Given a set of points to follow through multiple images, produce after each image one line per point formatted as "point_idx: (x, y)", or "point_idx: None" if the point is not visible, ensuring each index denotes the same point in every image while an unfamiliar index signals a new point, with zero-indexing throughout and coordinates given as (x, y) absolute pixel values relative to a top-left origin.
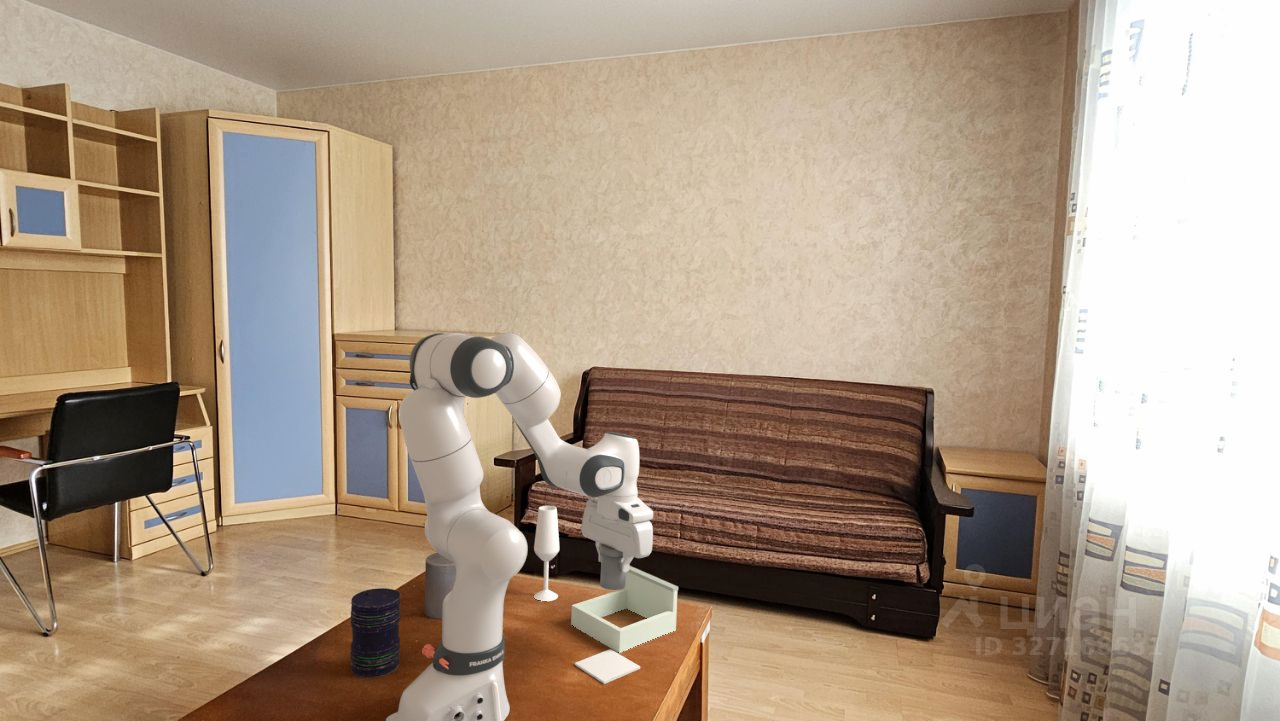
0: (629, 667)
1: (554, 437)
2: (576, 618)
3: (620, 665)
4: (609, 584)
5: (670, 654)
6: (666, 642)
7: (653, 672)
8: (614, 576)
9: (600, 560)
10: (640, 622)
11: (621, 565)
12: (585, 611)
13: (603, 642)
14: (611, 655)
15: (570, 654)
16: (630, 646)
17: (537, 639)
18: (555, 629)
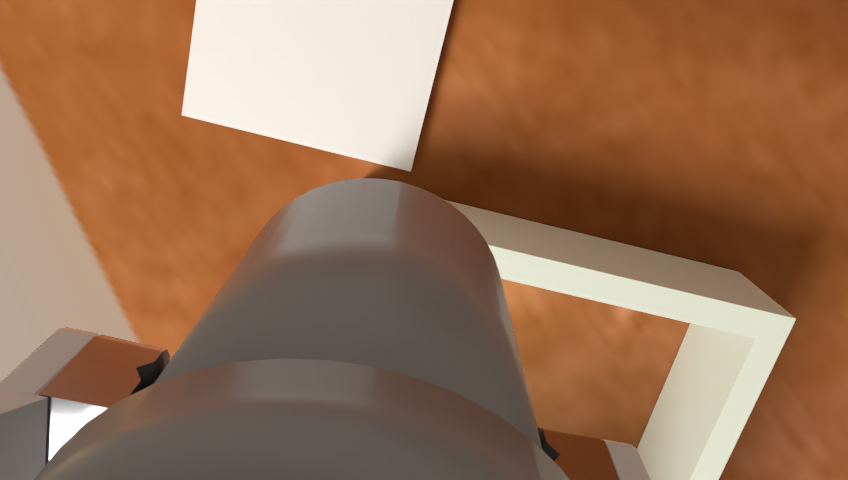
0: (214, 71)
1: None
2: (719, 281)
3: (263, 61)
4: (311, 202)
5: (169, 312)
6: None
7: (116, 124)
8: (241, 268)
9: (592, 443)
10: None
11: (64, 377)
12: (675, 300)
13: (485, 212)
14: (364, 118)
15: (561, 12)
16: None
17: (814, 36)
18: (787, 187)
